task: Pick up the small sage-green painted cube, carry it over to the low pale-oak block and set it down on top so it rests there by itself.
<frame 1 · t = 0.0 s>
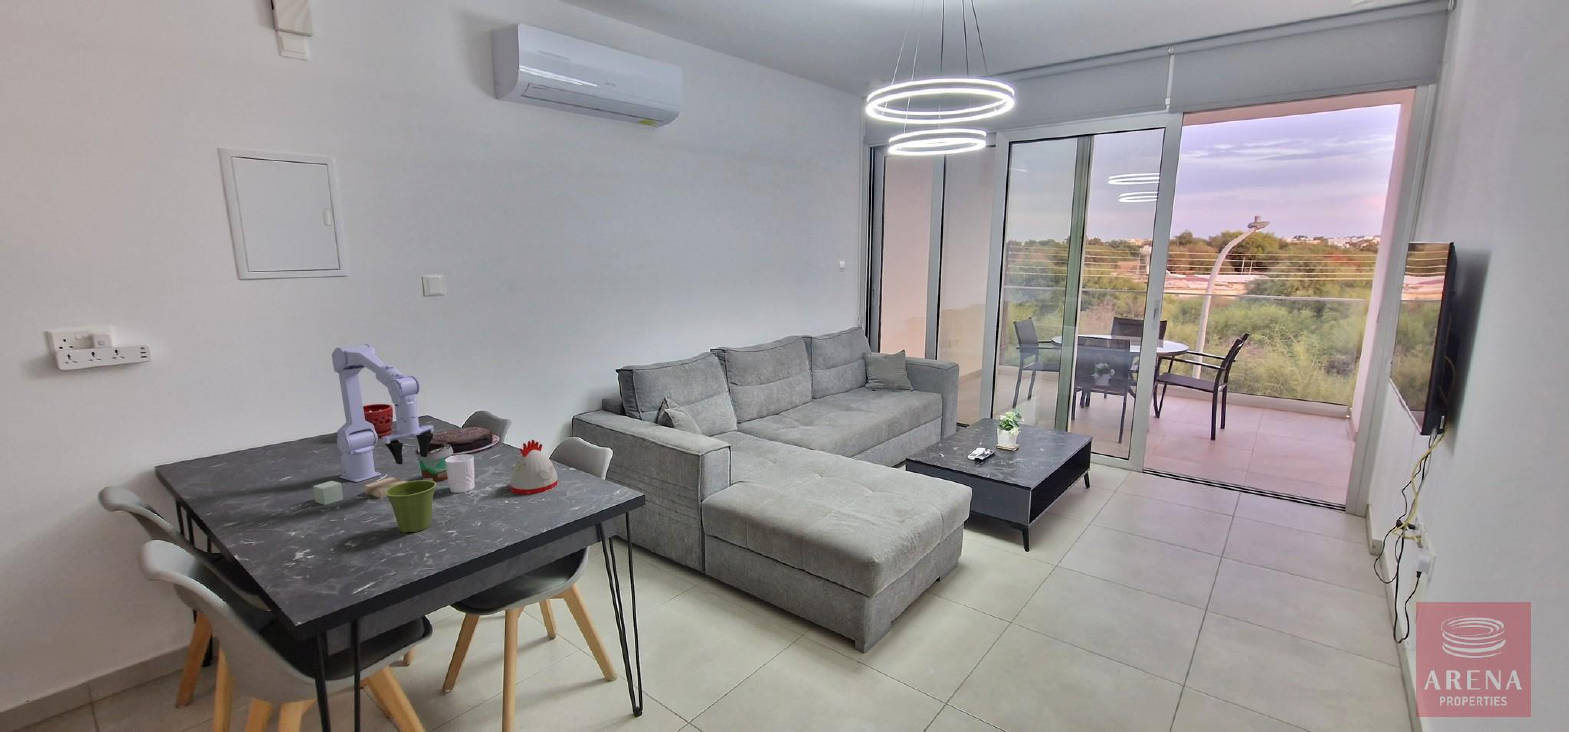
hand: (411, 460, 190), 10 cm above the table, tool pointing down, fingers open, 7 cm apart
food container: (442, 479, 203), on the table
oak block: (386, 492, 192), on the table
chocolate cake: (459, 447, 238), on the table
white cup: (462, 489, 194), on the table
sage cube: (329, 500, 185), on the table
kitchen timer: (534, 486, 197), on the table
plant pot: (415, 527, 167), on the table
plant pot 2: (376, 436, 251), on the table
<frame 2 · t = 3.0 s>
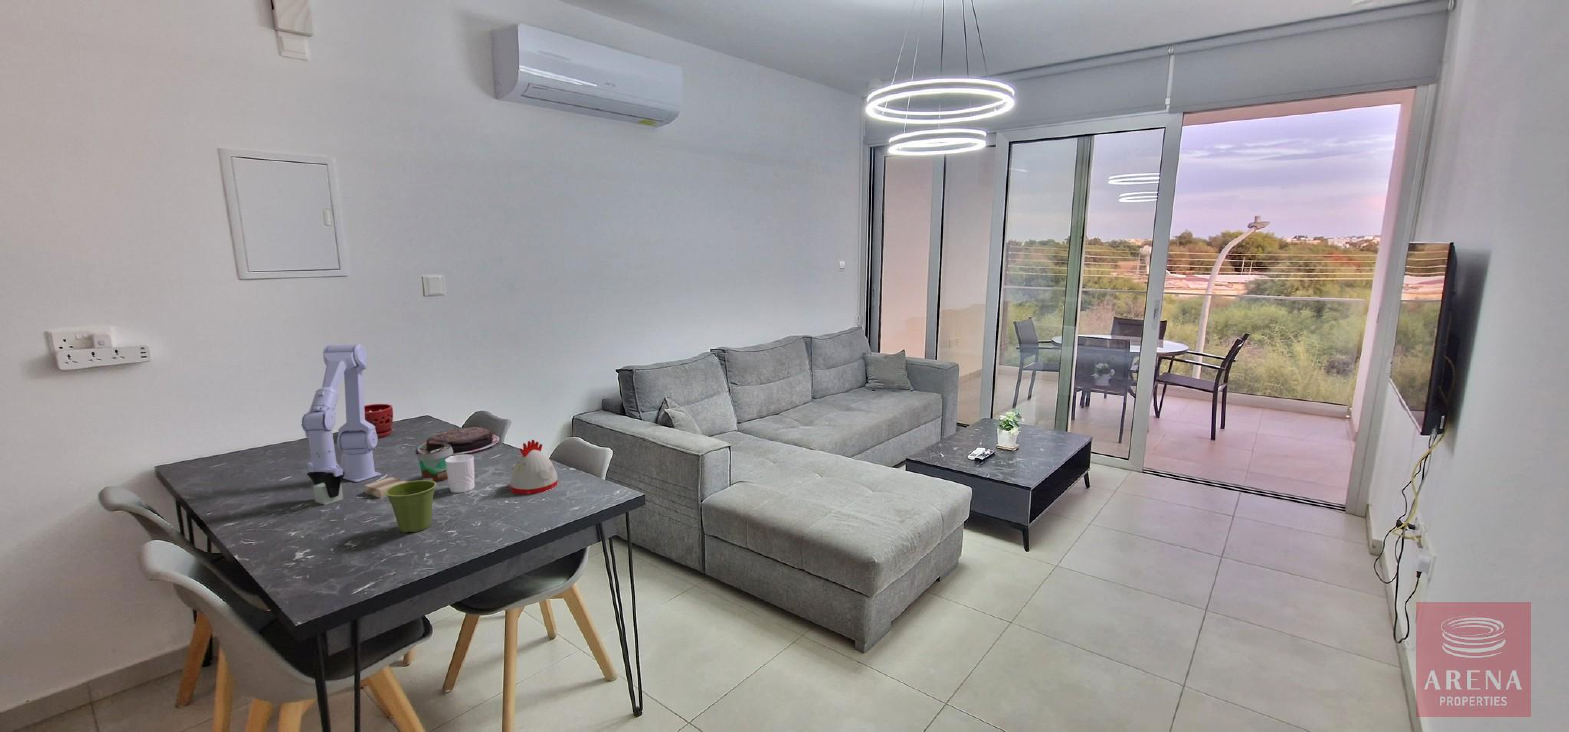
hand: (328, 495, 185), 2 cm above the table, tool pointing down, fingers closed on sage cube, 5 cm apart
sage cube: (329, 500, 185), on the table, touching gripper
everything else where it was.
when the fingers open (6 cm above the table, at t = 6.3 s): sage cube drops 1 cm, resting on oak block.
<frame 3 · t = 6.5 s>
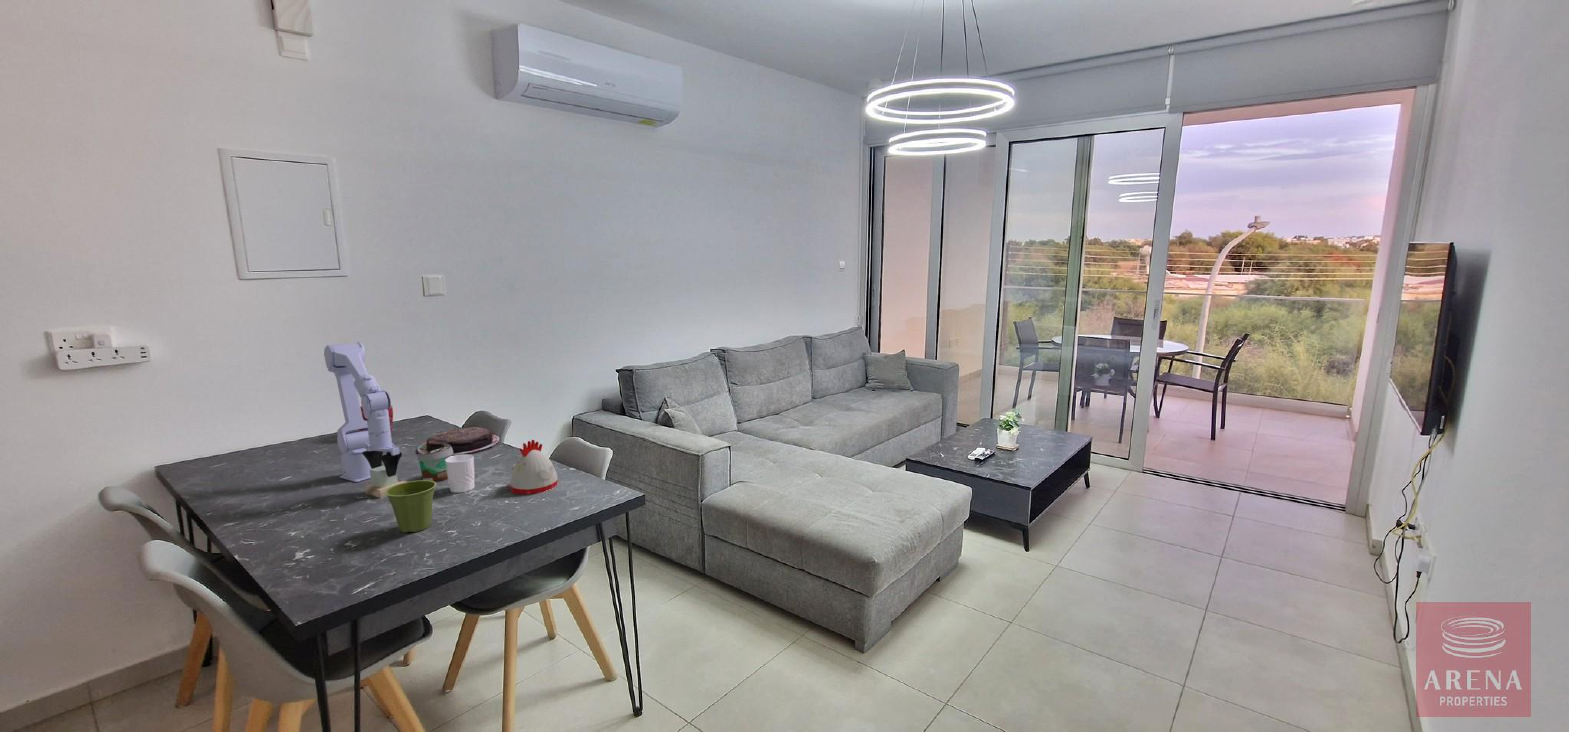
hand: (384, 473, 191), 6 cm above the table, tool pointing down, fingers open, 7 cm apart
oak block: (386, 492, 192), on the table, touching sage cube
sage cube: (384, 483, 192), point 2 cm above the table, touching oak block
everything else where it was.
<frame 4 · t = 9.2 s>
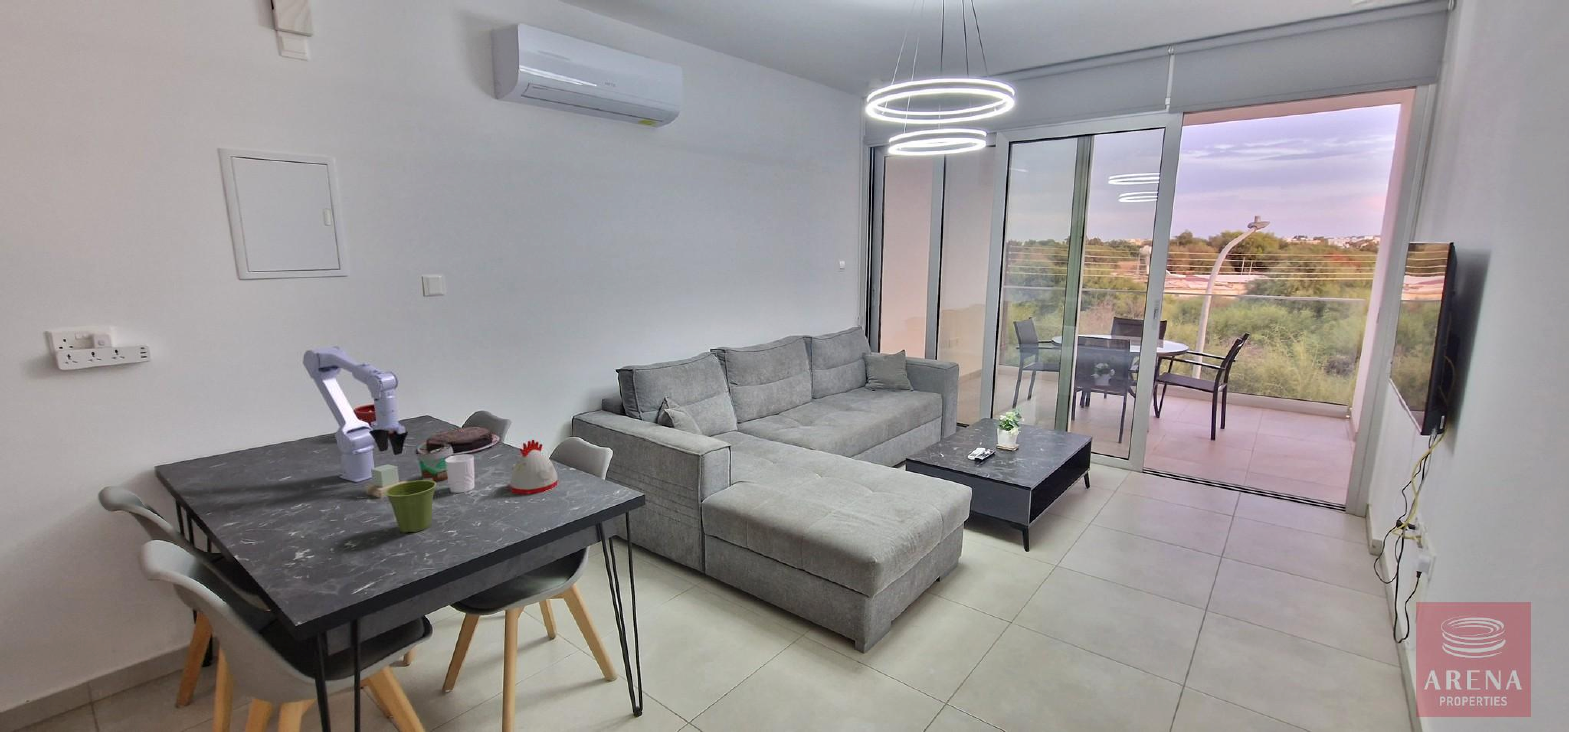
hand: (390, 452, 198), 10 cm above the table, tool pointing down, fingers open, 7 cm apart
oak block: (387, 492, 192), on the table
sage cube: (385, 483, 192), point 3 cm above the table
everything else where it was.
at the end: sage cube 0.3 cm off-centre on the oak block, point 3.0 cm above the oak block's base; sage cube tilted 0°; sage cube touching oak block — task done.
